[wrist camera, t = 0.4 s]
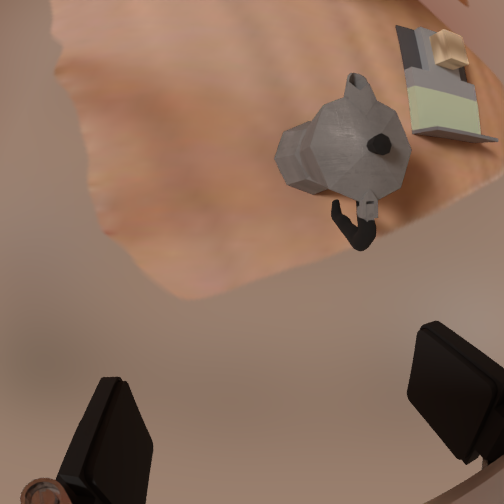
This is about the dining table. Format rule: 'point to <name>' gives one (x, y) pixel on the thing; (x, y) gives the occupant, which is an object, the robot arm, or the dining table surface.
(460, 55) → the maple block
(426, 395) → the robot arm
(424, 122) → the multicoloured piece
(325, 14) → the dining table surface
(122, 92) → the dining table surface
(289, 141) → the coffeepot
